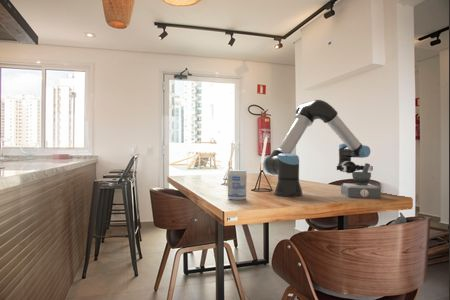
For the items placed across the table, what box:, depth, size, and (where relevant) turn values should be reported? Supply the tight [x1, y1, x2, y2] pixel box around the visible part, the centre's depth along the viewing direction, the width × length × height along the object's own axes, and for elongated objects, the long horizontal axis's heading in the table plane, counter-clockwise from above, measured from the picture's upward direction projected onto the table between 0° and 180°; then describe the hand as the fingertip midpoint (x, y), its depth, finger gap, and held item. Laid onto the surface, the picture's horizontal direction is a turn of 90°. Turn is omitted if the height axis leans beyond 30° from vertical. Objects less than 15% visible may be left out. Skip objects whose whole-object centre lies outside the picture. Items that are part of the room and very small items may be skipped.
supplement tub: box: [227, 169, 247, 201], centre depth 145 cm, size 10×10×15 cm
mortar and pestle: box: [351, 163, 372, 185], centre depth 157 cm, size 11×9×12 cm
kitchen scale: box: [340, 182, 381, 199], centre depth 156 cm, size 16×17×6 cm
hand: (358, 168), depth 161 cm, fingers open, 13 cm apart
